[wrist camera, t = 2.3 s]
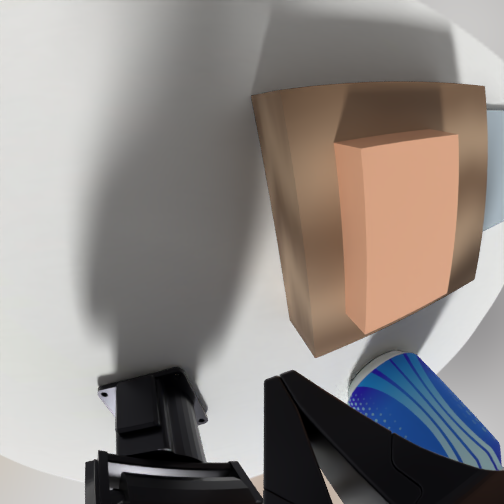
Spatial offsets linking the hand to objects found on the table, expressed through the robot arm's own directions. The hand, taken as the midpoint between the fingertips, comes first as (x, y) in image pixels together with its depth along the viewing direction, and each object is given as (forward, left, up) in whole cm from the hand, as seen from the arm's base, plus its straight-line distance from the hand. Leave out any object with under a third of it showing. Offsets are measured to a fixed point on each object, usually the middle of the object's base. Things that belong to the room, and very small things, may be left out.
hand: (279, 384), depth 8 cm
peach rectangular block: (0, -9, -6) cm, 11 cm away
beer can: (-18, -12, -11) cm, 24 cm away
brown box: (0, -11, -10) cm, 15 cm away
